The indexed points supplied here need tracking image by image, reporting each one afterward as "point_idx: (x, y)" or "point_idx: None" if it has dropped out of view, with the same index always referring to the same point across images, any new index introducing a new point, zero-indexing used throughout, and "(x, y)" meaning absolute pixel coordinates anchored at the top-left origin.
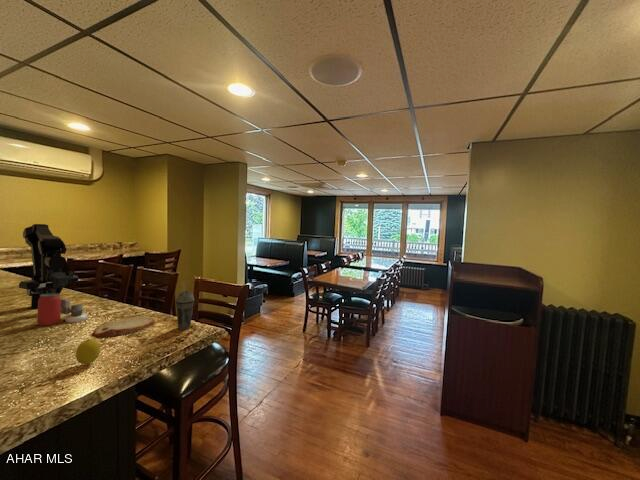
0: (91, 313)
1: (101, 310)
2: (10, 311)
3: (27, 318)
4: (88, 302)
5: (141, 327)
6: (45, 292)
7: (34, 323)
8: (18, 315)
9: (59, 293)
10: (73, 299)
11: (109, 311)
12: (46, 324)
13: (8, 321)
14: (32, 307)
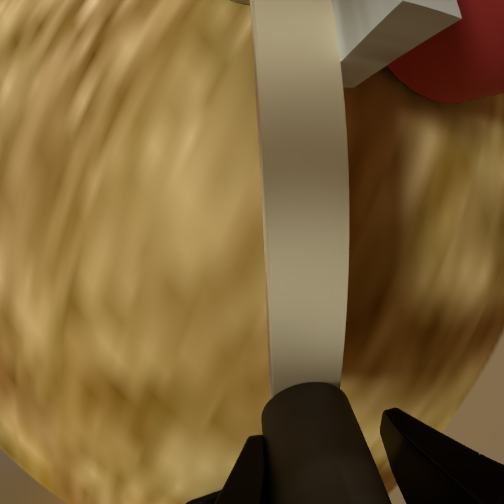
0: (90, 42)
1: (11, 85)
2: None
3: (440, 318)
4: (15, 400)
5: None
6: (490, 486)
7: (475, 137)
8: None
9: (226, 501)
10: (81, 499)
11: (10, 20)
12: None
13: (497, 328)
14: None
